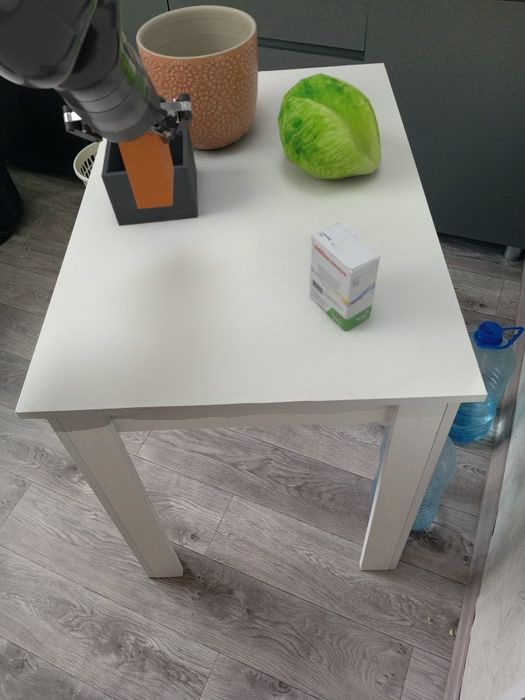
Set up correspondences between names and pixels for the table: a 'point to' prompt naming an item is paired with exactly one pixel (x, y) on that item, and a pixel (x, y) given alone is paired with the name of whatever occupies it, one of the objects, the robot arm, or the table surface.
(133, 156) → the block
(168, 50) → the planter
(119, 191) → the dark grey open box
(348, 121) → the lettuce
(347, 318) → the ink box
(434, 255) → the table surface
